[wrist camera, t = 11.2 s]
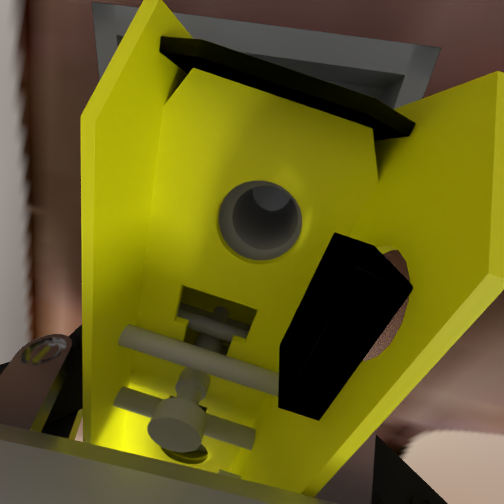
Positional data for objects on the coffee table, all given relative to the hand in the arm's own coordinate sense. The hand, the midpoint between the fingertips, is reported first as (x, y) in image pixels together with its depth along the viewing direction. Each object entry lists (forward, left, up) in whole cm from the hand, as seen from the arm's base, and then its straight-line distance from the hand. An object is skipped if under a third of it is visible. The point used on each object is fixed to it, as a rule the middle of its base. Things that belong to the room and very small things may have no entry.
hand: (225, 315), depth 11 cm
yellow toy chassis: (0, -1, -2) cm, 2 cm away
